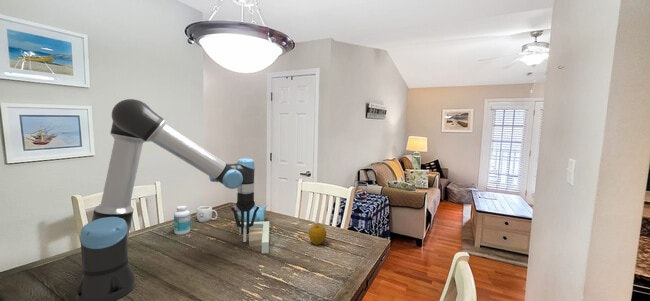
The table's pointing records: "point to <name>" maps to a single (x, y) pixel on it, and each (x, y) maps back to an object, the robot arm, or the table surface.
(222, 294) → the table surface
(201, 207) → the mug
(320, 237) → the apple
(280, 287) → the table surface
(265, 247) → the fence
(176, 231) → the pill bottle
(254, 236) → the maple block
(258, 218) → the teapot
